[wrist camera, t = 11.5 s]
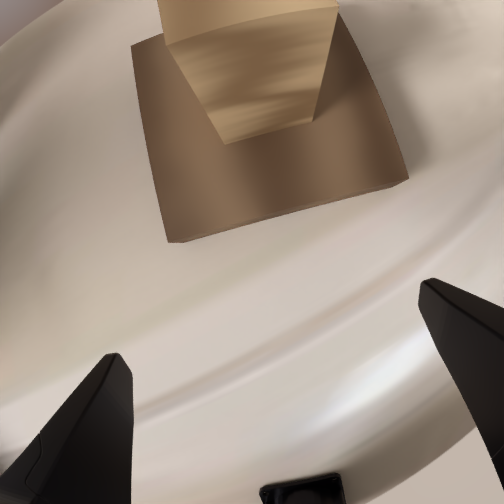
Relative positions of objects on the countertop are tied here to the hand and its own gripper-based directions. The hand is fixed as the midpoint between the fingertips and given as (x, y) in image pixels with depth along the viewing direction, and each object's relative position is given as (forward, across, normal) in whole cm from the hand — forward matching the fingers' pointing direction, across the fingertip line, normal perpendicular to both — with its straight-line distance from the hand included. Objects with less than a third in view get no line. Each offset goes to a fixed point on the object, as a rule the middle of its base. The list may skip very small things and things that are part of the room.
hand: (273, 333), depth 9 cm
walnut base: (+15, -2, -4) cm, 16 cm away
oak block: (+13, -2, -5) cm, 14 cm away
